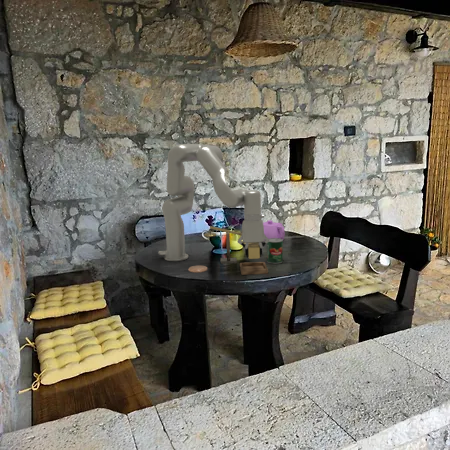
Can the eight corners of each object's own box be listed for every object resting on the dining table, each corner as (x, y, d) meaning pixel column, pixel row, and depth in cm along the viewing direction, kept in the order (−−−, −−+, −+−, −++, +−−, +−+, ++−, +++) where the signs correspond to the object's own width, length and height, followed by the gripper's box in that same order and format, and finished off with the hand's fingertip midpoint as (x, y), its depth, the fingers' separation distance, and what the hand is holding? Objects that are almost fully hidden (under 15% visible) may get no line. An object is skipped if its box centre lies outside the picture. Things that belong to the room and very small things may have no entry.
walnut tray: (241, 274, 182) (241, 270, 182) (239, 266, 194) (239, 262, 194) (267, 273, 183) (267, 269, 182) (264, 265, 195) (264, 261, 194)
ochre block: (247, 255, 189) (247, 245, 189) (258, 255, 190) (258, 245, 189) (248, 258, 185) (248, 248, 184) (259, 258, 185) (259, 247, 184)
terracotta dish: (187, 272, 187) (187, 271, 187) (188, 267, 196) (188, 265, 196) (207, 272, 188) (207, 270, 187) (207, 266, 196) (207, 265, 196)
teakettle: (285, 243, 236) (285, 222, 234) (256, 244, 237) (256, 223, 234) (282, 237, 253) (282, 217, 251) (255, 237, 253) (254, 218, 251)
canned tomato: (274, 264, 196) (274, 242, 194) (263, 261, 202) (263, 239, 200) (286, 261, 201) (286, 240, 199) (275, 258, 207) (275, 237, 205)
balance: (205, 264, 200) (203, 227, 196) (205, 260, 206) (204, 225, 202) (252, 262, 200) (251, 226, 197) (251, 259, 206) (250, 223, 203)
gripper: (270, 215, 187) (270, 253, 191) (233, 217, 187) (234, 255, 191) (272, 218, 180) (273, 257, 184) (234, 220, 180) (235, 259, 183)
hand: (253, 256), depth 187 cm, fingers closed on ochre block, 5 cm apart
